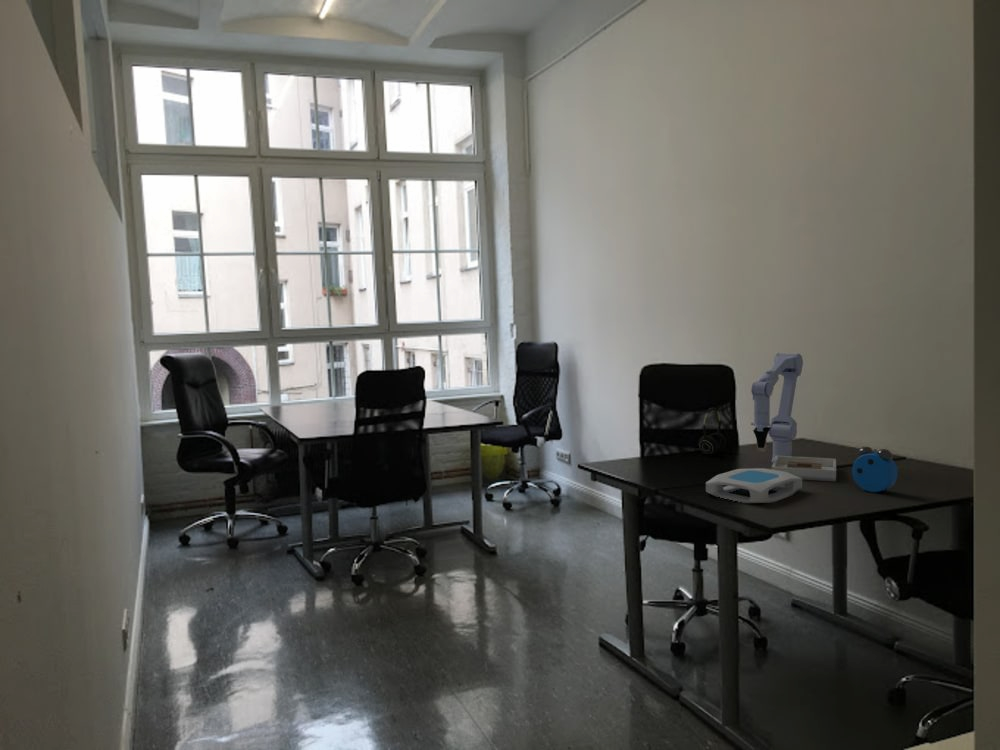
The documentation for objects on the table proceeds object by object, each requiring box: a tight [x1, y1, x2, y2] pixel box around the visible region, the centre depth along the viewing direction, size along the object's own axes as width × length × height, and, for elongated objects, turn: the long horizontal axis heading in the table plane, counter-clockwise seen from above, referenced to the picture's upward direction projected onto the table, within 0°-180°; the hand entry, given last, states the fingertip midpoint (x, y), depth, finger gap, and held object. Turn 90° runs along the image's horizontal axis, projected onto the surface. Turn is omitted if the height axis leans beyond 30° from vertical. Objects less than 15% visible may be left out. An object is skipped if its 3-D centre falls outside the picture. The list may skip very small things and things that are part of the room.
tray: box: [771, 456, 837, 482], centre depth 298 cm, size 22×22×4 cm
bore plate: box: [787, 461, 822, 469], centre depth 298 cm, size 12×12×2 cm
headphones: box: [698, 407, 727, 455], centre depth 338 cm, size 9×15×20 cm, turn 138°
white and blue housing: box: [705, 467, 803, 504], centre depth 270 cm, size 21×28×6 cm
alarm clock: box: [851, 446, 899, 493], centre depth 268 cm, size 13×6×15 cm, turn 38°
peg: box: [756, 439, 767, 453], centre depth 305 cm, size 4×4×7 cm
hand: (761, 446), depth 306 cm, fingers closed on peg, 4 cm apart
